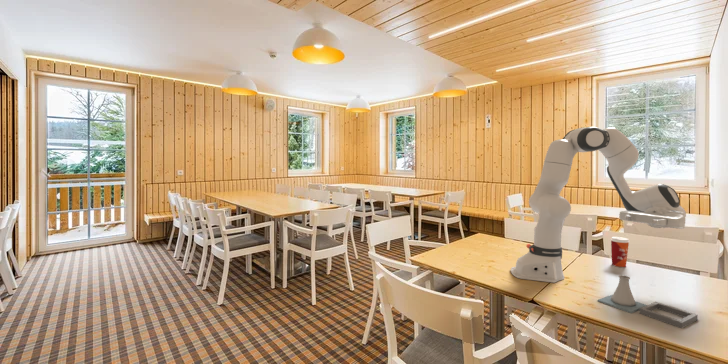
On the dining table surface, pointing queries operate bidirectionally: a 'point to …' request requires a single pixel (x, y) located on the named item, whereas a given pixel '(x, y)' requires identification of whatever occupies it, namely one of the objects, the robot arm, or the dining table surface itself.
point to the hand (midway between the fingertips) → (640, 220)
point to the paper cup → (619, 251)
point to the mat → (629, 309)
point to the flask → (623, 292)
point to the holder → (680, 323)
